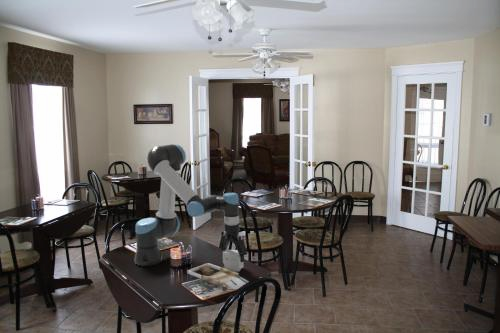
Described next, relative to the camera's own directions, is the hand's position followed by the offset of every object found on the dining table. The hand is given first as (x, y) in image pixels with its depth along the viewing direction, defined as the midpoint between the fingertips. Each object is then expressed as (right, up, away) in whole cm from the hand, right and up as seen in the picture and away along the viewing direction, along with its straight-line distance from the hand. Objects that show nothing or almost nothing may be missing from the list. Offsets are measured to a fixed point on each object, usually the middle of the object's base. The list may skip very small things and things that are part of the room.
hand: (233, 265), depth 222 cm
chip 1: (-14, -3, 0) cm, 15 cm away
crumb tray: (-14, -4, -2) cm, 15 cm away
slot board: (-6, -5, -10) cm, 13 cm away
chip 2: (-12, -4, -4) cm, 14 cm away
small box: (0, -3, +1) cm, 3 cm away
